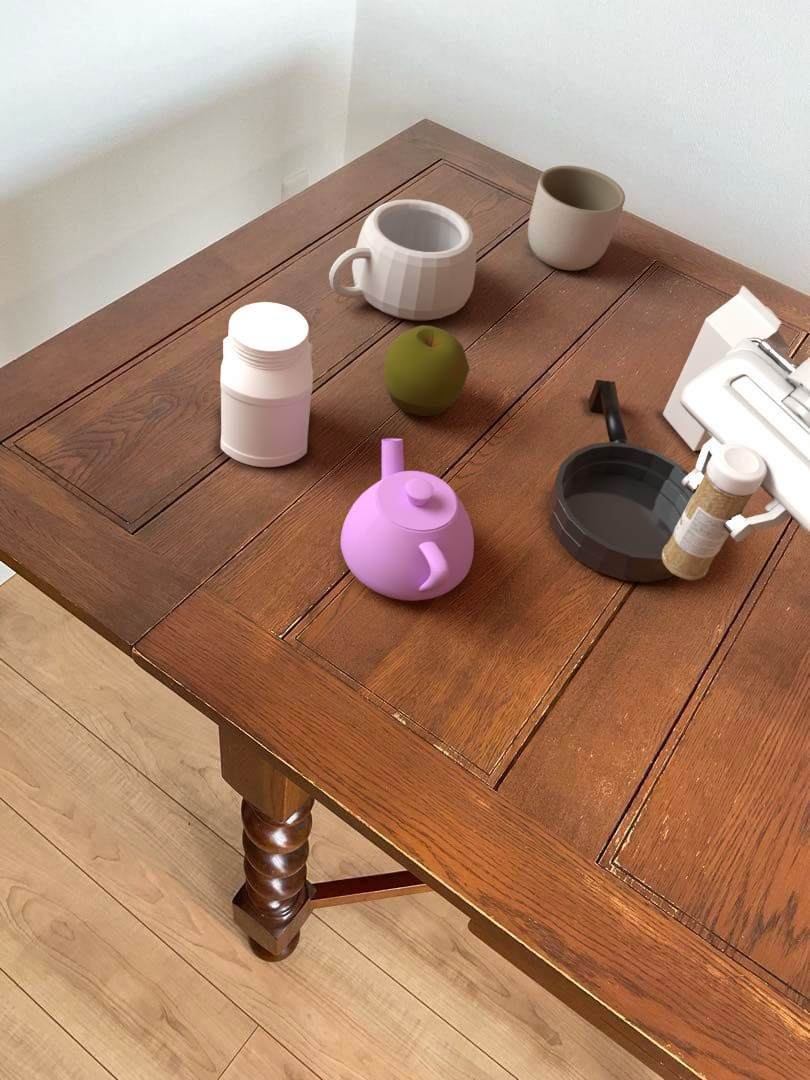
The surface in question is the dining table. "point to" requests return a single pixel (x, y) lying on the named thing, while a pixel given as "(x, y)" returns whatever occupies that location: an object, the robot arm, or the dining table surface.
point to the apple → (425, 370)
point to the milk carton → (720, 353)
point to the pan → (618, 508)
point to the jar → (266, 385)
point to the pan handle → (608, 409)
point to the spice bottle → (713, 509)
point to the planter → (573, 216)
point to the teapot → (407, 533)
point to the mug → (411, 261)
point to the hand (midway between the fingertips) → (708, 512)
